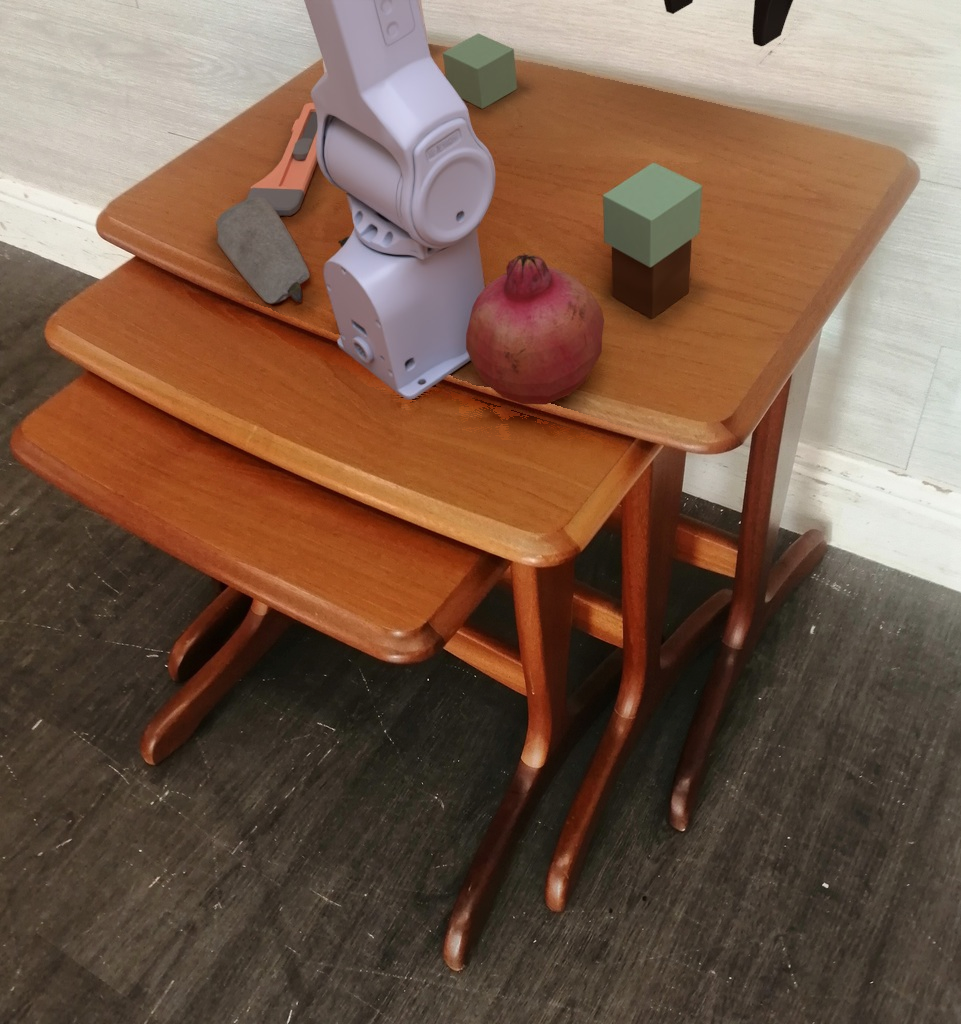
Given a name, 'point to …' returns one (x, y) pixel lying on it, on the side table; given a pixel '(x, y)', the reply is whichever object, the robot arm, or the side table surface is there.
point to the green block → (481, 70)
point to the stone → (261, 248)
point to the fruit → (534, 332)
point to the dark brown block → (651, 280)
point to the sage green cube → (652, 214)
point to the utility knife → (292, 167)
